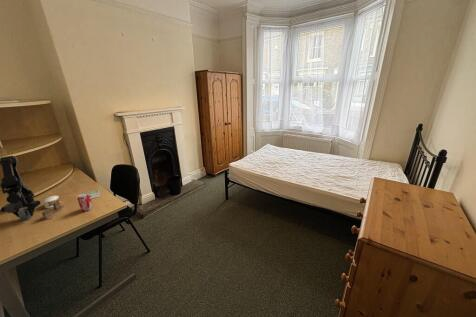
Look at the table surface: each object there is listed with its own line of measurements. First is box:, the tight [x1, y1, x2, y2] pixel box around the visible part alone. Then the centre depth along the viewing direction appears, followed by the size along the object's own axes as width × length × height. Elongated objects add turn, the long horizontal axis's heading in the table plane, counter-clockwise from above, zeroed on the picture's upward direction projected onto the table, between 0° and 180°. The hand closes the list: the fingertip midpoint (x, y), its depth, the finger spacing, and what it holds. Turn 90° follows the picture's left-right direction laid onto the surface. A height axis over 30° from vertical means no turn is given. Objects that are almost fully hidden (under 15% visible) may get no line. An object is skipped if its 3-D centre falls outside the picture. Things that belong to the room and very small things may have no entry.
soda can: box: [77, 192, 94, 212], centre depth 140 cm, size 7×7×12 cm
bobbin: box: [42, 195, 62, 209], centre depth 147 cm, size 9×9×6 cm
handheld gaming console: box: [85, 189, 101, 200], centre depth 161 cm, size 10×2×15 cm
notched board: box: [40, 199, 66, 221], centre depth 138 cm, size 6×16×6 cm, turn 13°
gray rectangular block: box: [17, 207, 33, 222], centre depth 132 cm, size 4×4×7 cm
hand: (26, 216), depth 133 cm, fingers open, 7 cm apart
